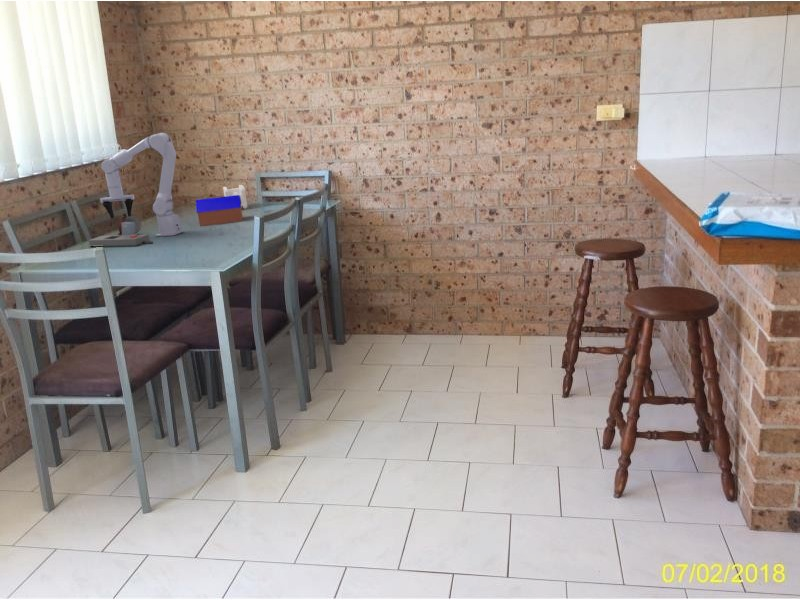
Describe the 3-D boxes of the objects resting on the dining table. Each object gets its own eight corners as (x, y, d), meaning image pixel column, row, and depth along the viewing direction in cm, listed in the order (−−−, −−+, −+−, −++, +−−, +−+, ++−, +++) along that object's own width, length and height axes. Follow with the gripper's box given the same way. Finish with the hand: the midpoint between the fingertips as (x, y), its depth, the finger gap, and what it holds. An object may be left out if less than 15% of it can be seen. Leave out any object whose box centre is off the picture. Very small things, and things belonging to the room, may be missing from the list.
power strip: (159, 240, 319) (157, 232, 318) (146, 245, 311) (144, 237, 310) (104, 242, 328) (102, 234, 327) (90, 247, 320) (88, 238, 319)
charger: (135, 238, 331) (134, 222, 329) (129, 239, 327) (128, 223, 325) (127, 237, 332) (127, 221, 330) (121, 238, 328) (120, 223, 326)
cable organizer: (226, 208, 391) (222, 186, 388) (246, 205, 394) (242, 183, 390) (227, 212, 377) (224, 189, 374) (248, 209, 380) (245, 186, 376)
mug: (122, 245, 339) (133, 240, 332) (108, 234, 335) (118, 229, 328) (134, 228, 345) (144, 223, 338) (119, 217, 341) (130, 211, 334)
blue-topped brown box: (242, 221, 348) (238, 196, 344) (199, 226, 345) (194, 201, 342) (243, 217, 359) (239, 193, 356) (201, 222, 356) (197, 198, 353)
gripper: (134, 183, 331) (140, 213, 335) (101, 187, 331) (107, 217, 335) (129, 185, 324) (135, 216, 328) (95, 189, 324) (102, 220, 328)
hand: (121, 217), depth 331 cm, fingers open, 7 cm apart
